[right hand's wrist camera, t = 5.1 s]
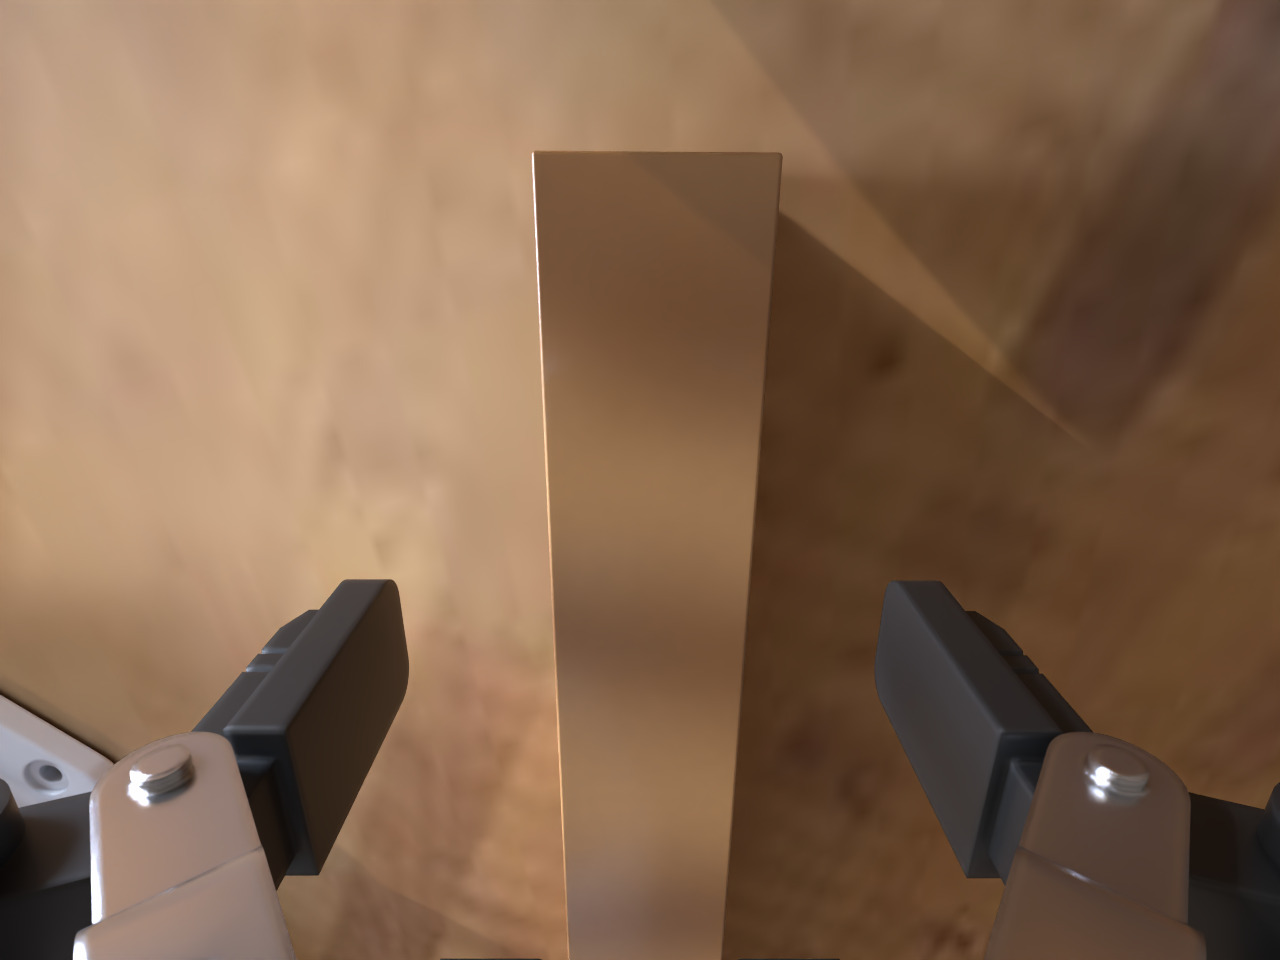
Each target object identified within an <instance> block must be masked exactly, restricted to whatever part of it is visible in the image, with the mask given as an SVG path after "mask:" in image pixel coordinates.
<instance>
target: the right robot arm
mask: <svg viewBox="0 0 1280 960" xmlns="http://www.w3.org/2000/svg"><path fill="white" fill-rule="evenodd" d="M246 668H247V670H246V672H242V673H241V674H240V676H239V677H238V678H237V679H236V680H235V681H234V683H233V684H232V685H231V686H230V687H229V688H228V690H227V691H226V692H225V693H224V694H223V695H222V697H221V698H220V699H219V700H218V701H217V702H216V704H215V705H214V706H213V707H212V708H211V709H210V711H209V712H208V713H207V714H206V715H205V716H204V718H203V719H202V720H201V721H200V722H199V723H198V725H197V726H196V727H195V728H194V729H193V730H192V732H188V733H181V734H177V735H173V736H169V737H166V738H163V739H160V740H157V741H154V742H152V743H150V744H147V745H145V746H143V747H141V748H139V749H137V750H135V751H134V752H132V753H130V754H129V755H127V756H125V757H124V758H122V759H121V760H120V761H118V762H117V763H116V764H114V765H113V766H112V767H111V768H110V769H109V770H107V771H106V772H105V773H104V775H103V776H102V777H101V778H100V779H99V780H98V782H97V783H96V785H95V786H94V788H93V790H92V791H91V792H87V793H82V794H78V795H73V796H69V797H64V798H60V799H56V800H51V801H47V802H42V803H38V804H33V805H29V806H24V807H20V808H18V806H17V804H16V801H15V799H14V797H13V794H12V792H11V790H10V787H9V785H8V784H7V783H6V782H5V781H4V780H2V779H0V960H296V956H295V953H294V950H293V946H292V943H291V940H290V936H289V933H288V929H287V926H286V923H285V919H284V916H283V913H282V909H281V906H280V903H279V899H278V896H277V892H276V891H277V889H278V887H279V885H280V883H281V882H282V880H283V878H284V876H285V875H319V873H320V871H321V869H322V867H323V865H324V863H325V861H326V859H327V857H328V855H329V853H330V850H331V848H332V846H333V844H334V842H335V840H336V838H337V836H338V834H339V832H340V830H341V828H342V826H343V824H344V821H345V819H346V817H347V815H348V813H349V811H350V809H351V807H352V805H353V803H354V801H355V799H356V797H357V795H358V792H359V790H360V788H361V786H362V784H363V782H364V780H365V778H366V776H367V774H368V772H369V770H370V768H371V766H372V763H373V761H374V759H375V757H376V755H377V753H378V751H379V749H380V747H381V745H382V743H383V741H384V739H385V737H386V734H387V732H388V730H389V728H390V726H391V724H392V722H393V720H394V718H395V716H396V714H397V712H398V710H399V708H400V705H401V703H402V701H403V699H404V696H405V693H406V689H407V684H408V677H409V660H408V652H407V645H406V638H405V631H404V624H403V617H402V611H401V604H400V597H399V591H398V588H397V585H396V583H395V582H394V581H393V580H344V581H342V582H341V583H340V584H339V586H338V587H337V588H336V589H335V591H334V592H333V593H332V594H331V596H330V597H329V598H328V599H327V601H326V602H325V603H324V604H323V606H322V607H321V608H320V609H319V610H308V611H306V612H305V613H303V614H302V615H300V616H299V617H297V618H295V619H294V620H292V621H291V622H289V623H288V624H286V625H284V626H283V627H281V628H280V629H279V630H278V631H277V633H276V634H275V635H274V636H273V637H272V638H271V640H270V641H269V642H268V643H267V644H266V645H265V647H264V648H263V649H262V653H261V654H258V655H257V656H256V657H255V658H254V659H253V661H252V662H251V663H250V664H249V665H248V666H247V667H246ZM1038 670H1039V669H1038V668H1037V667H1036V666H1035V665H1034V663H1033V662H1032V661H1031V660H1030V659H1029V658H1028V656H1027V655H1023V651H1022V650H1021V648H1020V647H1019V646H1018V645H1017V644H1016V643H1015V641H1014V640H1013V639H1012V638H1011V637H1010V636H1009V635H1008V633H1007V632H1006V631H1005V630H1004V629H1002V628H1001V627H999V626H998V625H996V624H995V623H993V622H991V621H990V620H988V619H987V618H985V617H984V616H982V615H980V614H979V613H977V612H976V611H965V610H964V609H963V608H962V607H961V605H960V604H959V603H958V602H957V600H956V599H955V598H954V597H953V595H952V594H951V593H950V592H949V591H948V589H947V588H946V587H945V586H944V584H943V583H942V582H940V581H891V582H890V583H889V584H888V586H887V588H886V591H885V596H884V603H883V609H882V616H881V623H880V630H879V637H878V643H877V650H876V657H875V682H876V688H877V692H878V696H879V699H880V701H881V704H882V706H883V708H884V710H885V712H886V714H887V716H888V718H889V720H890V722H891V724H892V726H893V728H894V730H895V732H896V734H897V736H898V738H899V740H900V742H901V744H902V747H903V749H904V751H905V753H906V755H907V757H908V759H909V761H910V763H911V765H912V767H913V769H914V771H915V773H916V775H917V777H918V779H919V781H920V783H921V785H922V787H923V789H924V792H925V794H926V796H927V798H928V800H929V802H930V804H931V806H932V808H933V810H934V812H935V814H936V816H937V818H938V820H939V822H940V824H941V826H942V828H943V830H944V832H945V835H946V837H947V839H948V841H949V843H950V845H951V847H952V849H953V851H954V853H955V855H956V857H957V859H958V861H959V863H960V865H961V867H962V869H963V871H964V873H965V875H966V877H967V878H1001V879H1002V881H1003V883H1004V885H1005V889H1004V892H1003V896H1002V899H1001V903H1000V906H999V909H998V913H997V916H996V919H995V923H994V926H993V929H992V933H991V936H990V940H989V943H988V946H987V950H986V953H985V956H984V960H1280V782H1279V783H1278V784H1277V785H1276V786H1275V787H1274V789H1273V792H1272V794H1271V796H1270V798H1269V801H1268V803H1267V805H1266V808H1265V810H1264V809H1260V808H1255V807H1251V806H1246V805H1242V804H1237V803H1233V802H1228V801H1224V800H1220V799H1215V798H1211V797H1206V796H1202V795H1197V794H1194V793H1190V792H1188V790H1187V788H1186V786H1185V785H1184V783H1183V782H1182V780H1181V779H1180V778H1179V777H1178V776H1177V775H1176V773H1175V772H1174V771H1173V770H1171V769H1170V768H1169V767H1168V766H1167V765H1166V764H1164V763H1163V762H1162V761H1160V760H1159V759H1158V758H1156V757H1155V756H1153V755H1151V754H1150V753H1148V752H1146V751H1145V750H1143V749H1141V748H1139V747H1137V746H1135V745H1133V744H1130V743H1128V742H1126V741H1123V740H1121V739H1117V738H1114V737H1111V736H1107V735H1103V734H1099V733H1093V731H1092V730H1091V729H1090V728H1089V727H1088V726H1087V725H1086V723H1085V722H1084V721H1083V720H1082V719H1081V718H1080V716H1079V715H1078V714H1077V713H1076V712H1075V711H1074V710H1073V708H1072V707H1071V706H1070V705H1069V704H1068V703H1067V701H1066V700H1065V699H1064V698H1063V697H1062V696H1061V695H1060V693H1059V692H1058V691H1057V690H1056V689H1055V688H1054V686H1053V685H1052V684H1051V683H1050V682H1049V681H1048V680H1047V678H1046V677H1045V676H1044V675H1043V674H1039V672H1038ZM440 960H541V959H440ZM739 960H840V959H739Z"/></svg>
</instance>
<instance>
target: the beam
mask: <svg viewBox="0 0 1280 960" xmlns="http://www.w3.org/2000/svg"><path fill="white" fill-rule="evenodd" d="M531 156H532V178H533V200H534V222H535V244H536V266H537V287H538V309H539V331H540V353H541V375H542V397H543V419H544V441H545V463H546V485H547V507H548V529H549V551H550V573H551V595H552V617H553V639H554V661H555V683H556V705H557V727H558V749H559V771H560V793H561V815H562V837H563V858H564V880H565V902H566V924H567V946H568V960H722V957H723V944H724V930H725V917H726V904H727V890H728V877H729V864H730V851H731V837H732V824H733V811H734V797H735V784H736V771H737V757H738V744H739V731H740V717H741V704H742V691H743V677H744V664H745V651H746V637H747V624H748V611H749V597H750V584H751V571H752V557H753V544H754V531H755V518H756V504H757V491H758V478H759V464H760V451H761V438H762V424H763V411H764V398H765V384H766V371H767V358H768V344H769V331H770V318H771V304H772V291H773V278H774V264H775V251H776V238H777V224H778V211H779V198H780V184H781V171H782V158H783V157H782V154H781V153H766V152H626V151H534V152H532V155H531Z"/></svg>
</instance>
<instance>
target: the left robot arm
mask: <svg viewBox="0 0 1280 960" xmlns="http://www.w3.org/2000/svg"><path fill="white" fill-rule="evenodd" d="M113 765H114V764H113V763H112V762H111V761H110V760H108V759H107V758H106V757H104V756H103V755H101V754H99V753H98V752H96V751H94V750H93V749H91V748H89V747H87V746H86V745H84V744H82V743H81V742H79V741H77V740H76V739H74V738H72V737H71V736H69V735H67V734H66V733H64V732H62V731H61V730H59V729H57V728H55V727H54V726H52V725H50V724H49V723H47V722H45V721H44V720H42V719H40V718H39V717H37V716H35V715H34V714H32V713H30V712H29V711H27V710H25V709H23V708H22V707H20V706H18V705H17V704H15V703H13V702H12V701H10V700H8V699H7V698H5V697H3V696H2V695H0V779H2V780H4V781H5V782H6V783H7V784H8V785H9V787H10V790H11V792H12V794H13V797H14V799H15V801H16V804H17V806H18V808H20V807H24V806H29V805H33V804H38V803H42V802H47V801H51V800H56V799H60V798H64V797H69V796H73V795H78V794H82V793H87V792H91V791H92V790H93V788H94V786H95V785H96V783H97V782H98V780H99V779H100V778H101V777H102V776H103V775H104V773H105V772H106V771H107V770H109V769H110V768H111V767H112V766H113Z"/></svg>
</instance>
